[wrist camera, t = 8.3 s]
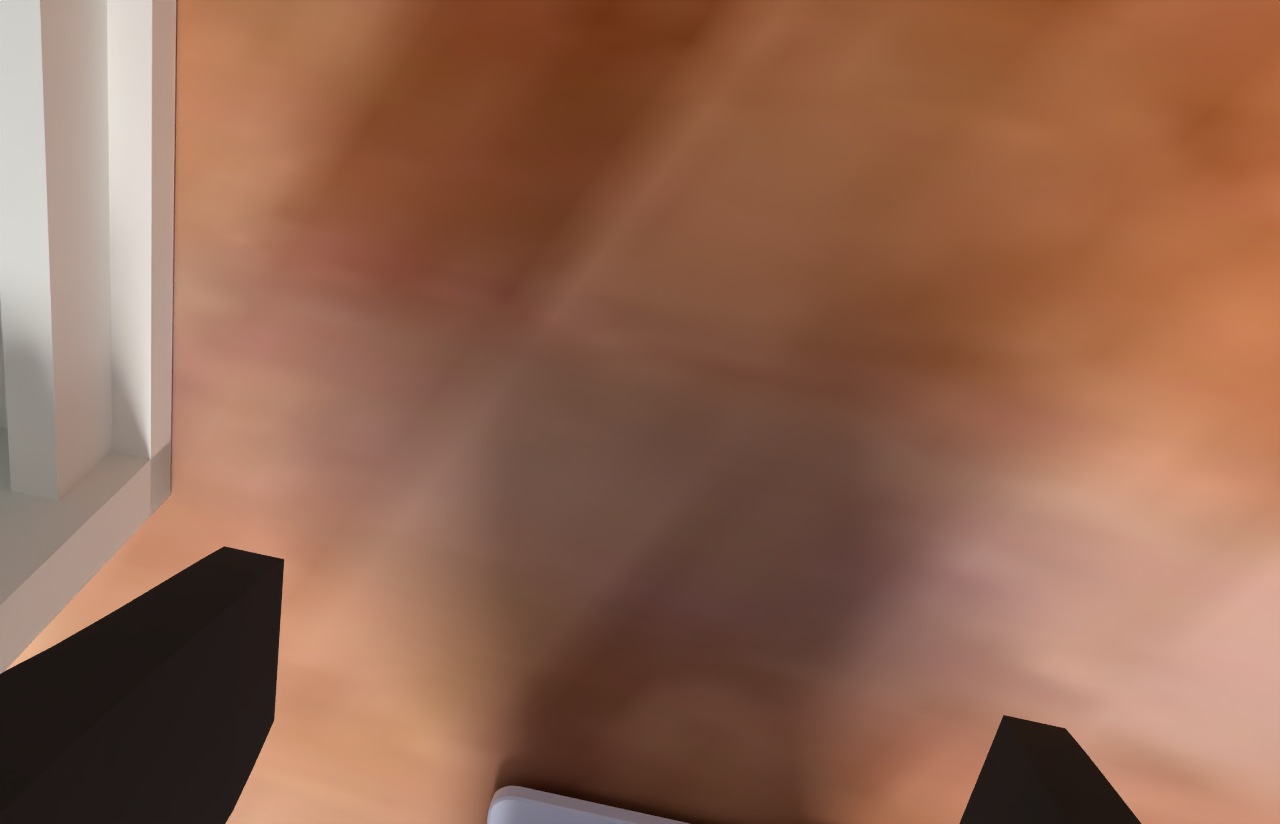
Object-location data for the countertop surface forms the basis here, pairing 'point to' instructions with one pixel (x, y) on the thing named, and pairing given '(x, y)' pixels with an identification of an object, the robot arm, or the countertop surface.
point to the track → (82, 293)
